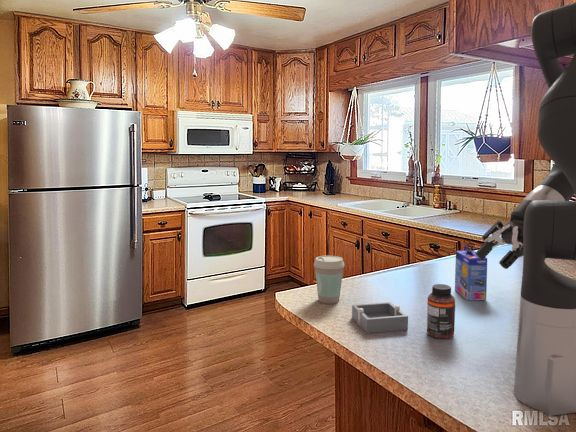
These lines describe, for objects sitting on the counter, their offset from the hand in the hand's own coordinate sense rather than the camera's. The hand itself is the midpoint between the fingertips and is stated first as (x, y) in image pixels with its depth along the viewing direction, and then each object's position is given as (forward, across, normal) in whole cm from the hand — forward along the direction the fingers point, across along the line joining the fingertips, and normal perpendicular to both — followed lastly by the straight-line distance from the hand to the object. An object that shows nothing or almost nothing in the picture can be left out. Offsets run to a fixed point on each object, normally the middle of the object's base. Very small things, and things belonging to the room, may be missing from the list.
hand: (490, 261), depth 101 cm
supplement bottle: (+20, 0, +3) cm, 20 cm away
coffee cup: (+33, -28, -9) cm, 44 cm away
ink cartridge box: (+4, -24, +20) cm, 31 cm away
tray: (+28, -9, -4) cm, 29 cm away
